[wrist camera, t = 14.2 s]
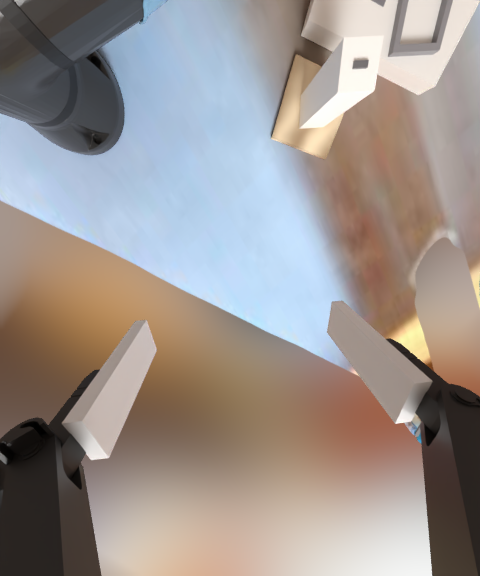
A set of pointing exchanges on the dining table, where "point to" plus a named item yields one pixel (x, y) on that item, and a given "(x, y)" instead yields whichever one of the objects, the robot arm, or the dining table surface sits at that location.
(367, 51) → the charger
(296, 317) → the dining table surface
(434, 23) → the power strip
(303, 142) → the tan flat square
